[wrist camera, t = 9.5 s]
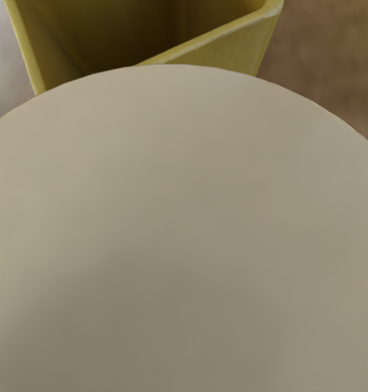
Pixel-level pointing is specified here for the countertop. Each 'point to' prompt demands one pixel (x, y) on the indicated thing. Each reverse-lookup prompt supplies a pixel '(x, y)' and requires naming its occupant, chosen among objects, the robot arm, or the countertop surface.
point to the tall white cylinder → (181, 237)
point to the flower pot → (138, 35)
